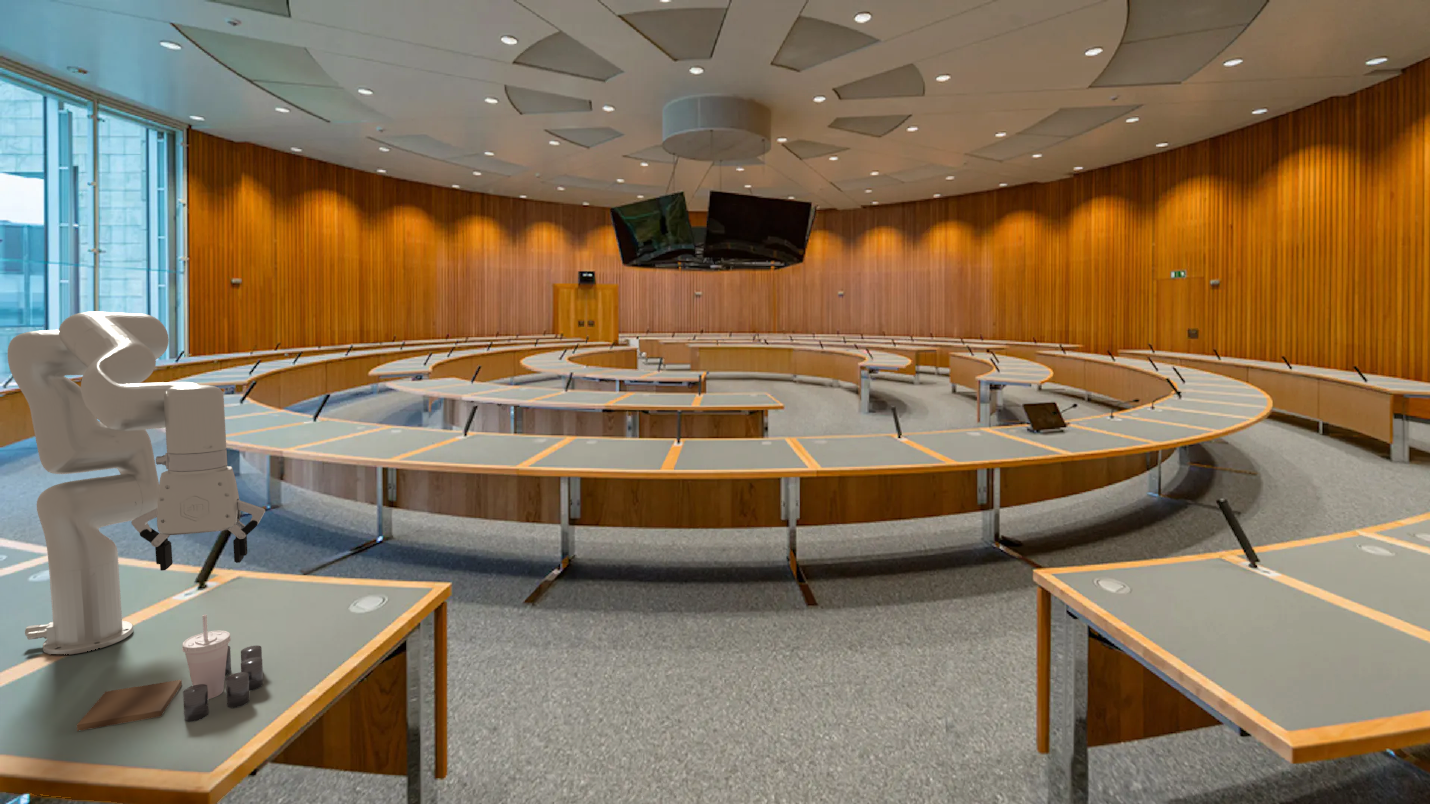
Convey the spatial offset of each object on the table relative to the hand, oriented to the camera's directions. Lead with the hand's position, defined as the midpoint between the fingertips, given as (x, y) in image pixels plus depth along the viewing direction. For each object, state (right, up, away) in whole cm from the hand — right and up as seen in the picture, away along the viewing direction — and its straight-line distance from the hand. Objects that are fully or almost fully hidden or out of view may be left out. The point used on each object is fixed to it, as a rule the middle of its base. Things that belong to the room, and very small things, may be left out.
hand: (203, 563), depth 106 cm
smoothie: (-1, -23, +2) cm, 23 cm away
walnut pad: (-10, -23, -2) cm, 25 cm away
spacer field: (+2, -22, +4) cm, 23 cm away
